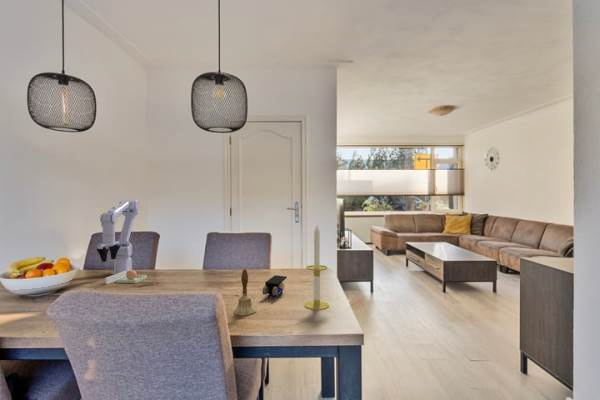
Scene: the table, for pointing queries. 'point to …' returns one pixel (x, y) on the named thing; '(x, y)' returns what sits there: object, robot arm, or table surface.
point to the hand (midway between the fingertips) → (108, 260)
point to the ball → (131, 274)
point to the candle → (316, 275)
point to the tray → (135, 280)
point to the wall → (115, 277)
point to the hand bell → (244, 299)
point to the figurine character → (274, 286)
